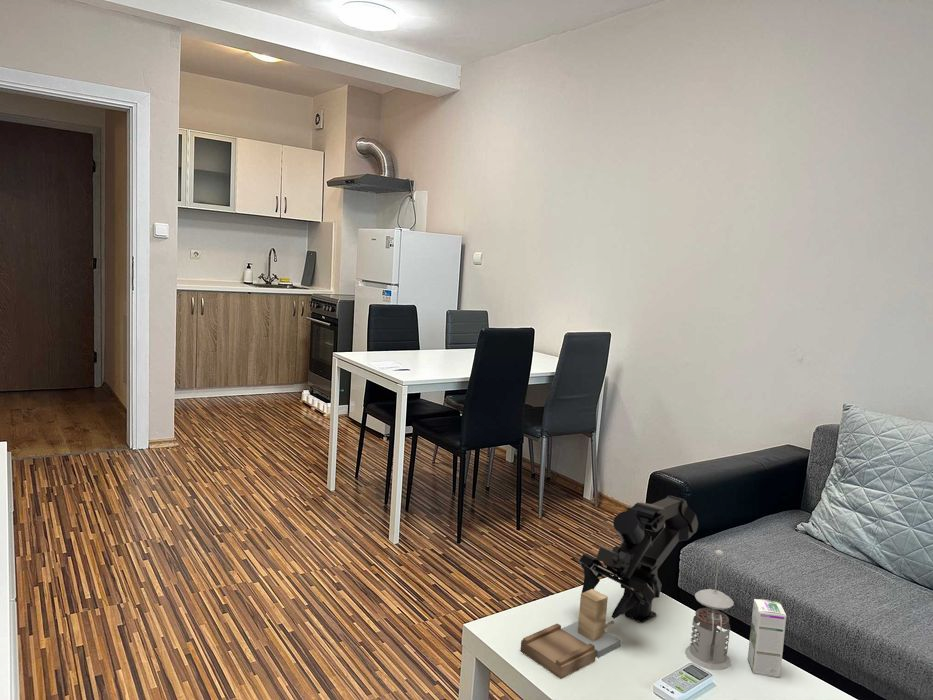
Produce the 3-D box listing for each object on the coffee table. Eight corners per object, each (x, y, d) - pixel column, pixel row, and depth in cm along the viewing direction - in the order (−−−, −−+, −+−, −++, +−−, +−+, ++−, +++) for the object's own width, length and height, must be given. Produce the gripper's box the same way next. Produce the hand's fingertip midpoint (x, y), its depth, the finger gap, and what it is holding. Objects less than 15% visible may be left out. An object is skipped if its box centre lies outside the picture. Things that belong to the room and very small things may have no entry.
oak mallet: (605, 619, 160) (608, 582, 159) (620, 628, 157) (624, 589, 156) (577, 632, 154) (580, 593, 153) (592, 641, 151) (596, 601, 149)
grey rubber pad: (583, 624, 161) (583, 618, 160) (620, 646, 152) (621, 639, 152) (560, 634, 155) (561, 628, 155) (597, 657, 147) (598, 651, 147)
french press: (727, 648, 154) (739, 544, 151) (736, 678, 143) (749, 566, 139) (682, 641, 156) (693, 538, 153) (688, 670, 144) (700, 559, 141)
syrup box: (780, 678, 143) (788, 614, 142) (751, 673, 145) (759, 610, 143) (774, 663, 149) (781, 601, 147) (745, 658, 150) (753, 597, 148)
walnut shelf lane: (554, 635, 155) (555, 622, 154) (595, 661, 146) (596, 646, 145) (520, 651, 148) (521, 637, 147) (560, 678, 139) (562, 663, 138)
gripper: (586, 521, 162) (551, 576, 157) (651, 549, 148) (615, 610, 143) (605, 544, 168) (572, 598, 163) (668, 573, 154) (635, 633, 149)
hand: (596, 609), depth 154 cm, fingers open, 9 cm apart
